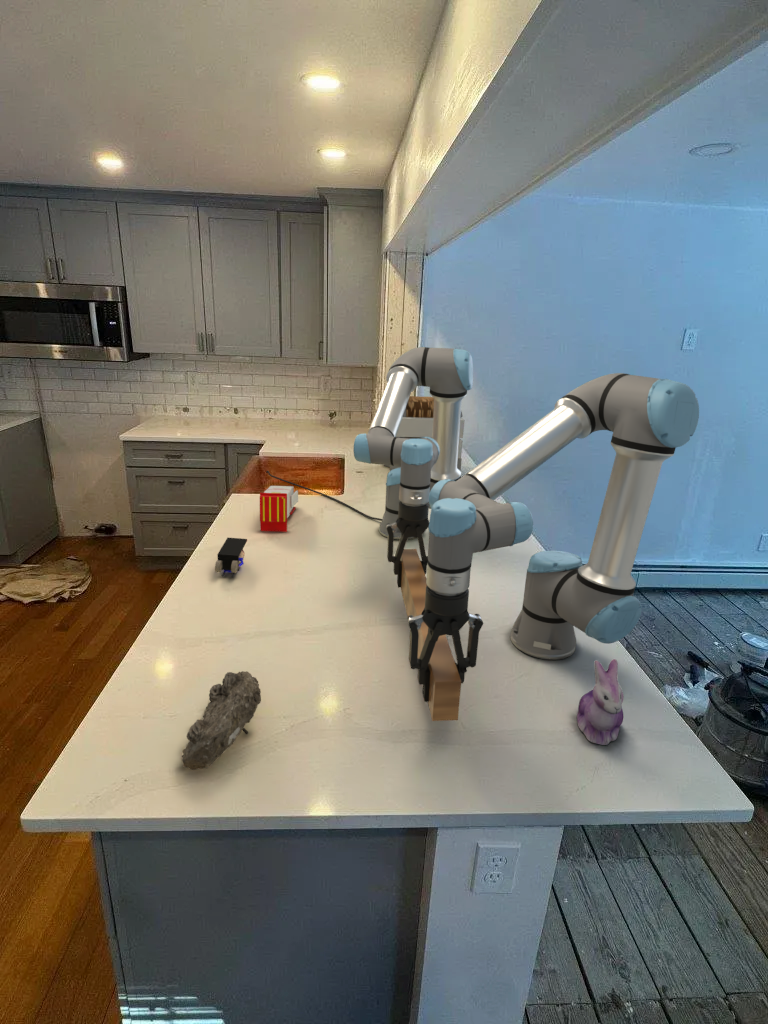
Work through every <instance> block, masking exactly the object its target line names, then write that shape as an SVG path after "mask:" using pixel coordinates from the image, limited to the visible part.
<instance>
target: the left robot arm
mask: <svg viewBox="0 0 768 1024" xmlns="http://www.w3.org/2000/svg"><path fill="white" fill-rule="evenodd" d="M385 378H386V386H385V388H384V389H383V390H384V391H383V393H382V395H381V398H380V401H379V403H378V406H377V409H376V410H375V414H374V416H373V418H372V420H371V424H370V426H369V429H368V431H367V433H365V432H364V433H358V434H357V435H356V436H355V438H354V441H353V457H354V459H355V461H357V462H359V463H365V464H368V465H382V466H384V465H392V466H400V467H401V468H396V469H393V470H391V471H390V470H389V472H388V473H387V475H386V482H385V504H384V505H385V507H384V508H385V509H384V513H383V515H382V518H380V517H373V516H370V515H367V514H366V513H364V512H362V511H360V510H358V509H357V508H354V507H352V506H351V505H350V504H347V503H345V502H343V501H341V500H339V499H337V498H334V497H332V496H330V495H327V494H326V493H322V492H319V491H318V490H314V489H312V488H309V487H306V486H303V485H300V484H297V483H294V482H291V481H289V480H286V479H283V478H280V477H277V476H275V475H273V474H272V473H270V470H266V472H265V473H266V474H268V476H270V477H271V478H274V479H277V480H279V481H281V482H284V483H287V484H290V485H291V486H295V487H298V488H301V489H304V490H307V491H310V492H313V493H316V494H318V495H321V496H323V497H326V498H327V499H330V500H333V501H335V502H337V503H339V504H341V505H343V506H345V507H347V508H349V509H351V510H352V511H354V512H356V513H358V514H360V515H362V516H364V517H365V518H368V519H371V520H374V521H379V527H378V533H379V534H380V535H381V536H382V537H385V538H387V550H386V551H387V552H386V559H387V561H388V563H393V575H395V576H396V584H397V588H400V589H401V577H402V563H401V561H400V559H401V556H402V553H403V550H404V549H405V547H406V544H407V542H408V541H410V540H415V539H417V543H418V548H419V552H420V553H419V555H420V557H421V558H420V561H421V564H422V567H423V570H424V573H425V576H427V563H428V555H427V553H426V547H425V543H424V537H423V535H424V533H425V532H426V531H427V529H429V522H430V519H429V510H431V507H430V504H429V494H430V491H431V489H432V488H433V486H434V485H435V484H436V483H437V482H439V481H441V480H445V479H449V480H454V481H457V480H458V479H460V478H461V477H462V471H461V472H460V470H459V469H458V468H457V460H458V445H459V431H460V416H461V412H462V403H463V402H462V401H463V399H465V397H467V395H468V391H470V390H472V389H473V386H474V363H473V357H472V354H471V352H470V351H469V350H466V349H459V348H456V347H455V348H453V347H452V348H451V347H450V348H449V347H427V346H419V347H414V348H411V349H409V350H407V351H405V352H404V353H402V354H401V355H400V356H399V357H398V358H396V359H395V360H394V362H393V363H391V366H390V367H389V368H388V370H387V373H386V377H385ZM417 387H427V388H428V387H429V395H430V397H433V398H434V414H433V436H432V438H430V437H422V438H419V439H410V438H399V437H396V434H397V432H398V429H399V426H400V423H401V420H402V417H403V414H404V411H405V409H406V406H407V403H408V400H409V397H410V396H411V394H412V393H413V392H414V391H415V390H416V389H417ZM394 540H395V541H398V544H397V547H396V550H395V553H394Z"/></svg>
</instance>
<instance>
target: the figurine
mask: <svg viewBox="0 0 768 1024" xmlns="http://www.w3.org/2000/svg"><path fill="white" fill-rule="evenodd" d="M618 663H619V662H618V660H617V659H615V658H614V659H613V658H612V660H610V662H609V664H608V667H607V669H606V670H605V668H604V666H603V665H602V664H601V662H600V661H598V660H594V661H593V664H594V681H595V684H594V686H593V688H592V689H590V690H589V691H588V692H586V693H585V694H583V695H582V696H581V698H580V699H579V702H578V708H577V713H576V721H577V726H578V729H579V730H580V731H581V732H582V733H583V734H584V736H585V738H586V739H587V740H588V742H590V743H592V744H597V745H601V746H605V745H606V746H607V745H609V743H610V742H614V741H616V740H617V739H618V736H619V733H620V728H621V726H622V724H623V722H624V719H625V718H624V711H623V708H622V707H623V703H624V692H623V689H622V687H621V684H620V683H619V679H618V673H619V665H618Z"/></svg>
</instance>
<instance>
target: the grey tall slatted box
mask: <svg viewBox="0 0 768 1024" xmlns="http://www.w3.org/2000/svg"><path fill="white" fill-rule="evenodd" d="M433 414H434V398H433V397H432V396H415V395H414V396H413V395H412V396H411V395H410V397H409V400H408V403H407V406H406V409H405V411H404V414H403V417H402V420H401V423H400V426H399V429H398V432H397V434H396V437H399V438H410V439H419V438H422V437H430V438H432V436H433ZM464 429H465V419H464V418H463V411H461V416H460V431H459V445H458V460H457V468H458V469H459V470H460V472H461V473H462V461H463V460H462V453H463V442H464V441H463V440H462V439H463V438H464V431H465V430H464ZM383 466H384V467H388V468H389V472H390V471H391V470H393V469H396V468H401V467H400V466H392V465H383Z"/></svg>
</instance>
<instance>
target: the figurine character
mask: <svg viewBox="0 0 768 1024" xmlns="http://www.w3.org/2000/svg"><path fill="white" fill-rule="evenodd" d="M247 542H248V538H240V537H226V539H225V541H224V543H223V544H222V546H221V547H220V549H219V551H218V552H217V560H216V562H215V564H214V572H215V573H221V577H222V578H224V577H225V576H226V574H227V573H230V574H231V573H232V574H231V578H234V577H235V575H236V573H237V572H239V571H240V567H242V566H243V565H244V564H245V562H244V558H245V551H244V547H245V546H246V544H247Z"/></svg>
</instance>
